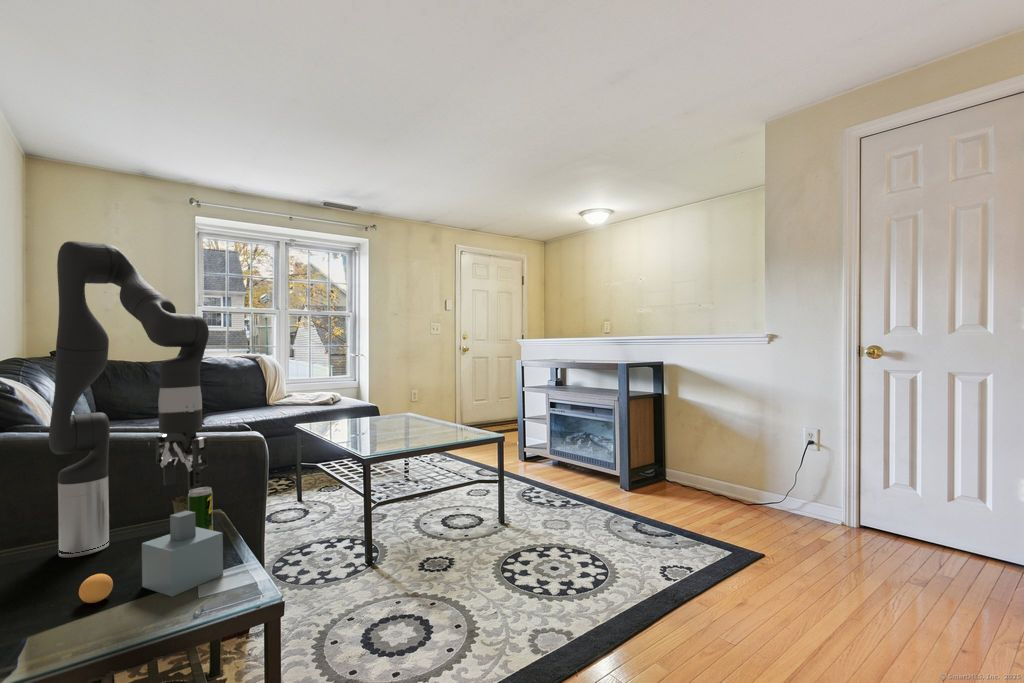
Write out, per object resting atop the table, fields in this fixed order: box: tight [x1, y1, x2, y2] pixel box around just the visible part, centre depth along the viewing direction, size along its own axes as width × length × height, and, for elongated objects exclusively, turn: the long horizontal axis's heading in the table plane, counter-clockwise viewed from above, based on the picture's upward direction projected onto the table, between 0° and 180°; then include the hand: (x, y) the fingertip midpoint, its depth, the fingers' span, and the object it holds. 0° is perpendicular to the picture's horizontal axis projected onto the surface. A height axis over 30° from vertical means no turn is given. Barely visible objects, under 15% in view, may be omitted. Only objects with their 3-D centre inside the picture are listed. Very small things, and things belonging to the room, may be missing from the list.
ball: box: [78, 573, 114, 604], centre depth 93 cm, size 5×5×5 cm
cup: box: [171, 495, 188, 514], centre depth 133 cm, size 8×7×8 cm
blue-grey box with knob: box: [141, 511, 224, 598], centre depth 101 cm, size 10×10×14 cm
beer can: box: [187, 486, 214, 531], centre depth 126 cm, size 5×5×12 cm
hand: (181, 486), depth 101 cm, fingers open, 8 cm apart
